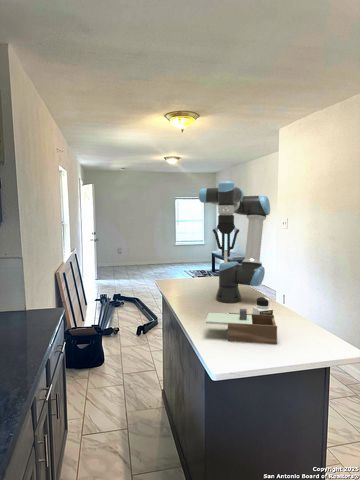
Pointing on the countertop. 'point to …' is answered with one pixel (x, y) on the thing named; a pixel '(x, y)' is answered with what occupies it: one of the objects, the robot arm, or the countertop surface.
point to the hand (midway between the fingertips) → (225, 263)
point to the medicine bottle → (262, 307)
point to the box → (254, 330)
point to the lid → (229, 318)
